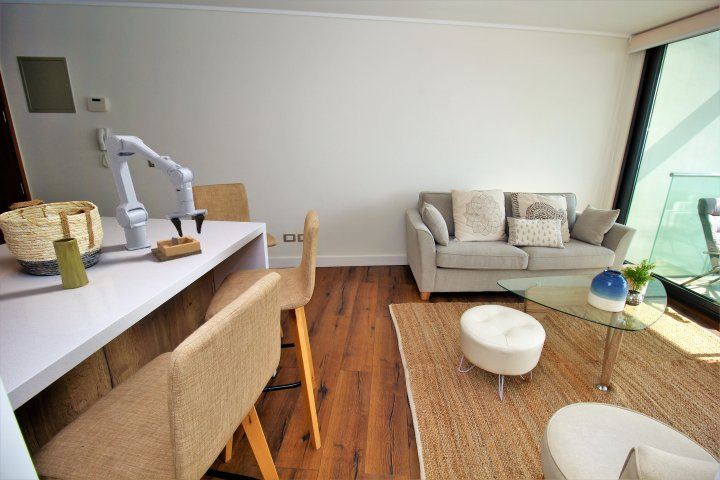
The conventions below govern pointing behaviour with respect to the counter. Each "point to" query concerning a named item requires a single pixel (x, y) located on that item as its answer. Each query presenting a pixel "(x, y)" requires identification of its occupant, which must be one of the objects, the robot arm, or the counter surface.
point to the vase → (70, 263)
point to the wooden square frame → (178, 246)
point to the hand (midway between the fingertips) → (190, 234)
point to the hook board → (167, 258)
